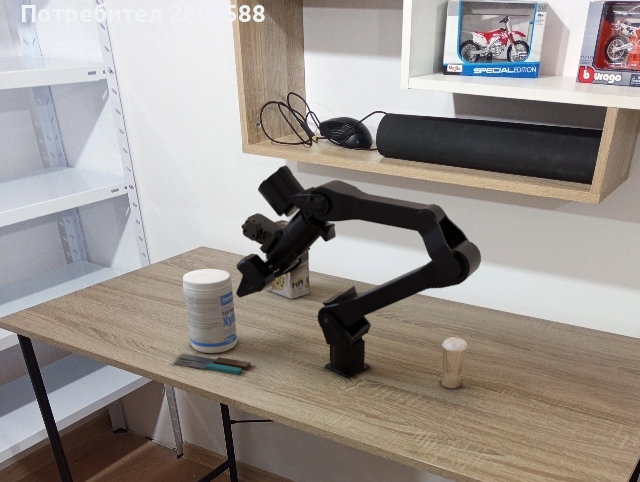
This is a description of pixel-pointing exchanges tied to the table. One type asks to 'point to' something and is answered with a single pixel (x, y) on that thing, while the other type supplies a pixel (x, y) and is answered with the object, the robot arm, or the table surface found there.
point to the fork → (209, 366)
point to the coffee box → (291, 279)
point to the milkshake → (453, 361)
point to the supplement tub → (210, 310)
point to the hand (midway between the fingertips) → (250, 287)
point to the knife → (218, 361)
